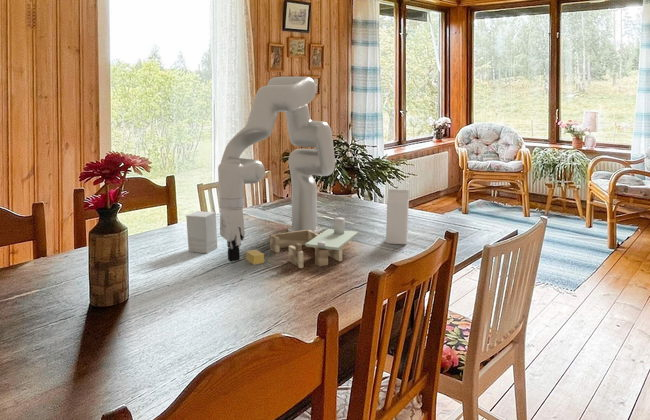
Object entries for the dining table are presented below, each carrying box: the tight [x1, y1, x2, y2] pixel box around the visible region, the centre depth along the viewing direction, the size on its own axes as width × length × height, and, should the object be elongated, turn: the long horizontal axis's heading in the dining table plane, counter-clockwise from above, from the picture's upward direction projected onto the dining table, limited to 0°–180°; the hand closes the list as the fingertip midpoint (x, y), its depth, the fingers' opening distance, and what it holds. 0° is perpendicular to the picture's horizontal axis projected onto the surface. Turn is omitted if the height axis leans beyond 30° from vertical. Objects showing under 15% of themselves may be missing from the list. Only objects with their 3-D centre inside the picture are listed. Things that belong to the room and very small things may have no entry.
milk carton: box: [385, 188, 410, 245], centre depth 195 cm, size 7×7×19 cm
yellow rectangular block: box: [245, 249, 265, 265], centre depth 175 cm, size 6×4×3 cm, turn 32°
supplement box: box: [185, 210, 218, 254], centre depth 186 cm, size 7×7×13 cm
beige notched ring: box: [269, 229, 343, 269], centre depth 181 cm, size 25×15×7 cm, turn 29°
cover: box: [304, 217, 359, 250], centre depth 179 cm, size 21×11×6 cm, turn 158°
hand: (233, 260), depth 172 cm, fingers closed
